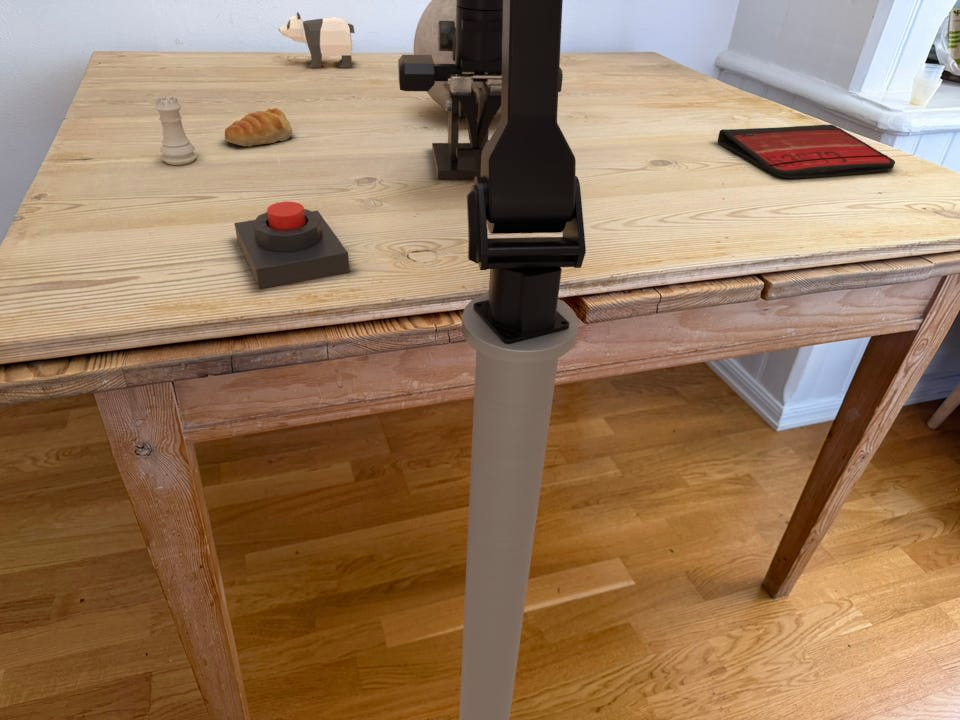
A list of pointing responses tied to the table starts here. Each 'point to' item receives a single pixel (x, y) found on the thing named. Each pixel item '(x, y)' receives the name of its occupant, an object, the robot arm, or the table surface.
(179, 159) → the rook chess piece
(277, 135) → the pastry
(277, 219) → the button
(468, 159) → the bracket
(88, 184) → the table surface
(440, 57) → the moon model
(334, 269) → the button box
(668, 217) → the table surface
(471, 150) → the lever
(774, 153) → the binder
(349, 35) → the giant panda
